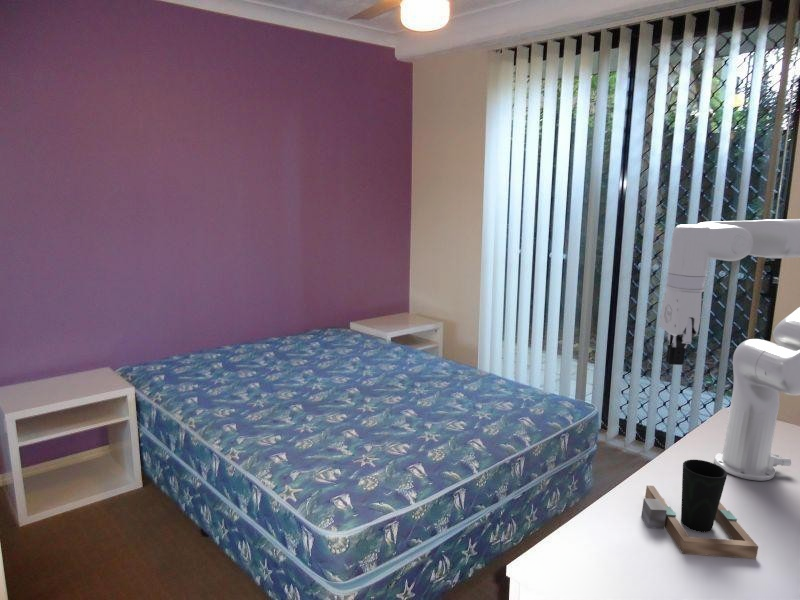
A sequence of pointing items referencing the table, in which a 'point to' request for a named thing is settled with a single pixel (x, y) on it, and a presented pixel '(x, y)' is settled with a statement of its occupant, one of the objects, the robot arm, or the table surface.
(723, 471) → the cup
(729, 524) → the beam slot
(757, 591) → the table surface
